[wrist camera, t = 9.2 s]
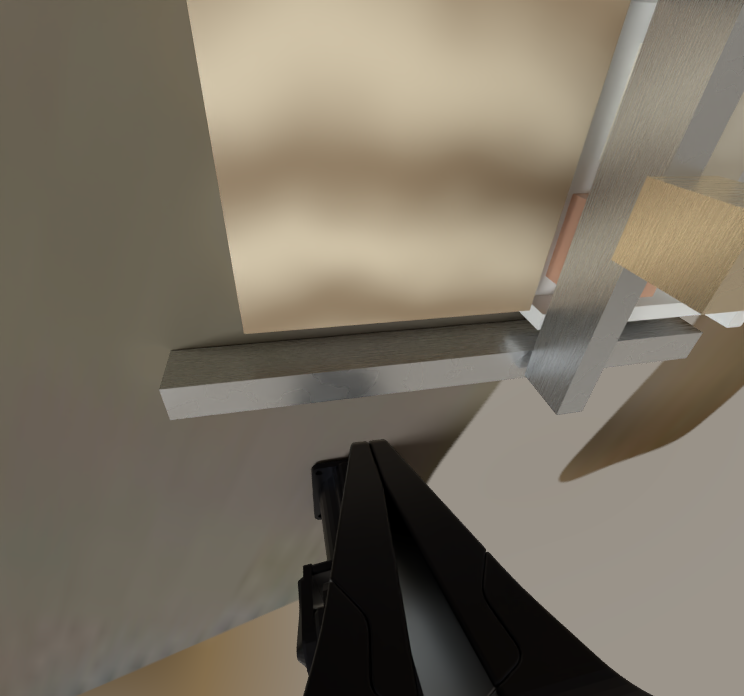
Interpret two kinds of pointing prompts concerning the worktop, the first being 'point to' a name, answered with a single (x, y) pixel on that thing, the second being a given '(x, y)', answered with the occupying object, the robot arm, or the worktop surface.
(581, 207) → the salmon pink block
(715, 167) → the beige block
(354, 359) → the rails
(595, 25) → the board
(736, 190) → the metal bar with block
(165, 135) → the worktop surface
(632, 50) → the box
